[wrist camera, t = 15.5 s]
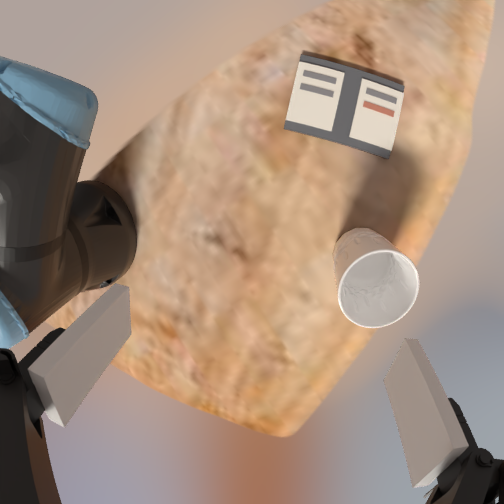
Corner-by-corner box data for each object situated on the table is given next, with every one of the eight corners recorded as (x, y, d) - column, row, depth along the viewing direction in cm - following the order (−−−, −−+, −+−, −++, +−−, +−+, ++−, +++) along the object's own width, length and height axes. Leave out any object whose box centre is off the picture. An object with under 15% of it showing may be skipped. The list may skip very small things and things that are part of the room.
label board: (284, 129, 31) (283, 128, 30) (300, 56, 28) (301, 53, 27) (386, 158, 31) (389, 159, 30) (402, 87, 28) (405, 85, 26)
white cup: (342, 294, 37) (354, 340, 27) (317, 239, 35) (324, 273, 26) (398, 268, 35) (427, 306, 25) (377, 211, 33) (405, 234, 24)
